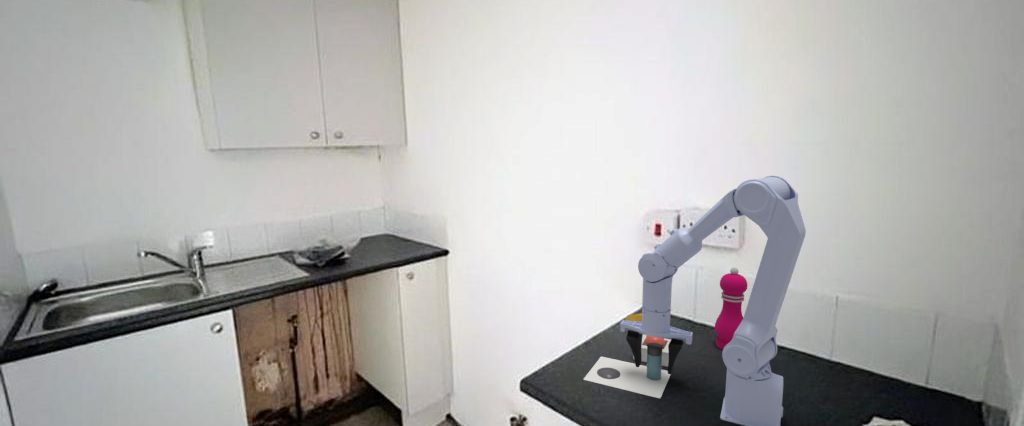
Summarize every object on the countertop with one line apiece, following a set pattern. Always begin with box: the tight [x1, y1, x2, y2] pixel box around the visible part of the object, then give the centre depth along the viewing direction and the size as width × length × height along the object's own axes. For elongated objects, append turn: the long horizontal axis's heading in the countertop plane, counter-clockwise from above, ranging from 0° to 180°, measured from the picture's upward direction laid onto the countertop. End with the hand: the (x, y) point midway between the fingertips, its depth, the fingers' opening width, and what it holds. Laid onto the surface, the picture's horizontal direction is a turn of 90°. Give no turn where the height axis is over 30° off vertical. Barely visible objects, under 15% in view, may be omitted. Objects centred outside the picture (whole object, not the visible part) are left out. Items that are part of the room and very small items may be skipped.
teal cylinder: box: [646, 343, 663, 380], centre depth 101 cm, size 3×3×7 cm
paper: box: [583, 356, 672, 399], centre depth 102 cm, size 16×12×1 cm
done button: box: [646, 335, 664, 349], centre depth 111 cm, size 4×4×2 cm
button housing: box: [632, 335, 671, 368], centre depth 111 cm, size 8×8×4 cm
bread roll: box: [624, 312, 642, 322], centre depth 128 cm, size 8×9×4 cm
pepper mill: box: [714, 267, 748, 351], centre depth 115 cm, size 7×7×20 cm
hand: (654, 368), depth 101 cm, fingers open, 6 cm apart
